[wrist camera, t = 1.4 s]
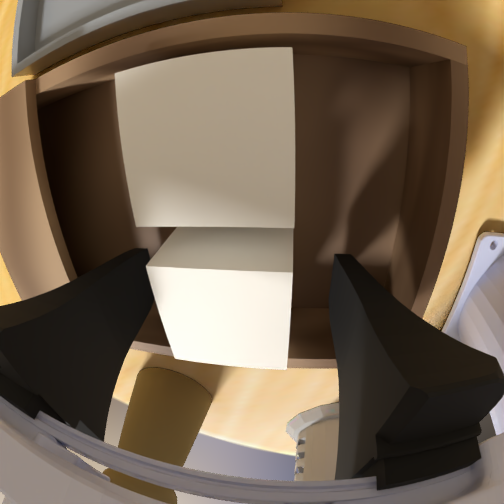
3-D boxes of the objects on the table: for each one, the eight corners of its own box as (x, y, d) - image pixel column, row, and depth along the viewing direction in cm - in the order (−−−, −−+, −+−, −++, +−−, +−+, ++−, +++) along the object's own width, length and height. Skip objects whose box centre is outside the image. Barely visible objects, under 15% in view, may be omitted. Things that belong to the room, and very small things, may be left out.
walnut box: (418, 57, 7) (475, 44, 4) (384, 312, 13) (403, 374, 9) (26, 105, 9) (-30, 121, 6) (73, 290, 15) (39, 331, 12)
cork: (142, 355, 17) (79, 495, 8) (223, 390, 18) (187, 536, 8) (134, 389, 20) (88, 497, 11) (199, 417, 21) (168, 528, 11)
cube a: (293, 212, 10) (292, 272, 7) (290, 297, 12) (286, 369, 9) (190, 211, 11) (145, 266, 8) (202, 292, 13) (174, 358, 9)
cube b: (291, 70, 8) (292, 47, 4) (293, 181, 10) (294, 228, 6) (177, 79, 8) (114, 73, 5) (186, 182, 10) (136, 226, 7)
